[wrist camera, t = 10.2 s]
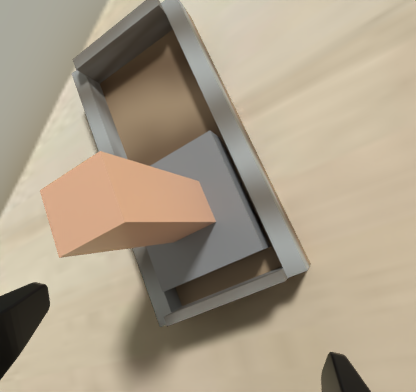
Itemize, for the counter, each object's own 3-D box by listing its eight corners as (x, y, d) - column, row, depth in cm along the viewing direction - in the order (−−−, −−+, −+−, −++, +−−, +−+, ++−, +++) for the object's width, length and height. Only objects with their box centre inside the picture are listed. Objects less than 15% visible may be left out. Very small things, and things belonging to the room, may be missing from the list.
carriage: (270, 246, 19) (203, 273, 9) (177, 286, 21) (40, 343, 11) (220, 138, 21) (119, 61, 11) (139, 185, 23) (-8, 157, 13)
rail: (310, 263, 20) (306, 273, 16) (179, 315, 23) (151, 332, 19) (190, 16, 25) (167, -18, 21) (95, 87, 28) (61, 68, 24)
